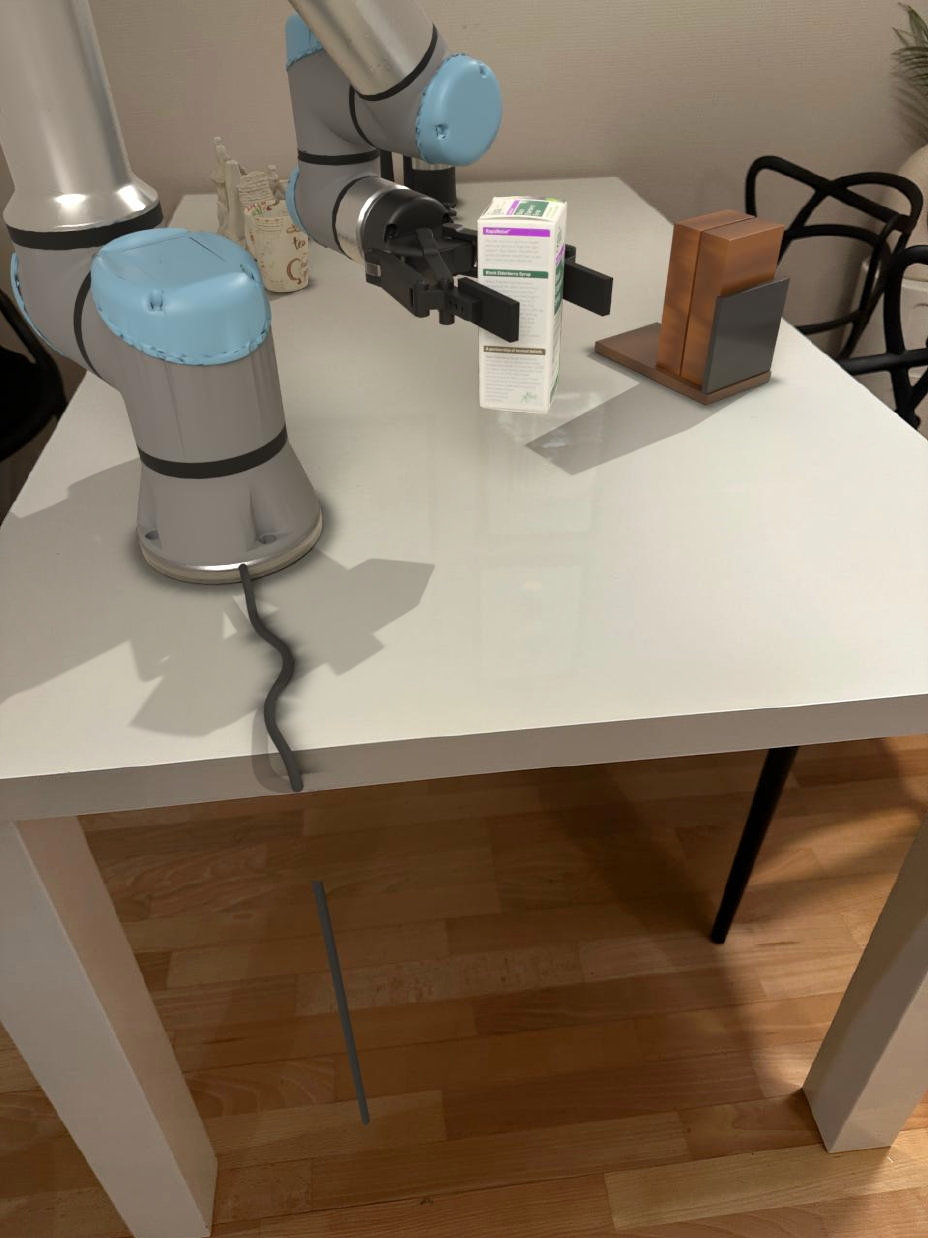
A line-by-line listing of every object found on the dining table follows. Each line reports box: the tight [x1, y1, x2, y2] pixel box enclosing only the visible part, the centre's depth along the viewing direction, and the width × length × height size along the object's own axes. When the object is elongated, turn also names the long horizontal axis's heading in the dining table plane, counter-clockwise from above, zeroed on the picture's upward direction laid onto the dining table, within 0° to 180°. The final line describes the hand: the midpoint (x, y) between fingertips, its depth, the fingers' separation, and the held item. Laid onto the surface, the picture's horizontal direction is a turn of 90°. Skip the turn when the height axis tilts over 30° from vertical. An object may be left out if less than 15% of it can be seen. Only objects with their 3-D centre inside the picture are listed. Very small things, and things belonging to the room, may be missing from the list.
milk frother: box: [380, 149, 459, 218], centre depth 147 cm, size 14×16×15 cm
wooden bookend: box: [594, 208, 791, 406], centre depth 97 cm, size 18×10×16 cm, turn 35°
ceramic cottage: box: [210, 136, 310, 261], centre depth 136 cm, size 16×16×15 cm
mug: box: [244, 200, 309, 293], centre depth 122 cm, size 8×13×10 cm, turn 47°
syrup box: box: [476, 195, 568, 415], centre depth 68 cm, size 6×6×14 cm
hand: (562, 309), depth 64 cm, fingers closed on syrup box, 8 cm apart
